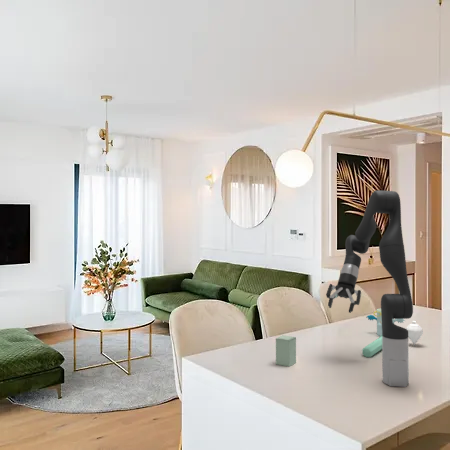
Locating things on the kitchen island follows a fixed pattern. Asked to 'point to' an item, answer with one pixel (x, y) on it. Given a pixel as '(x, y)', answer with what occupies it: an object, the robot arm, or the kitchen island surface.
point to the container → (372, 347)
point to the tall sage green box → (286, 350)
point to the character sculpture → (379, 321)
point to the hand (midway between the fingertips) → (339, 309)
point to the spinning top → (414, 332)
